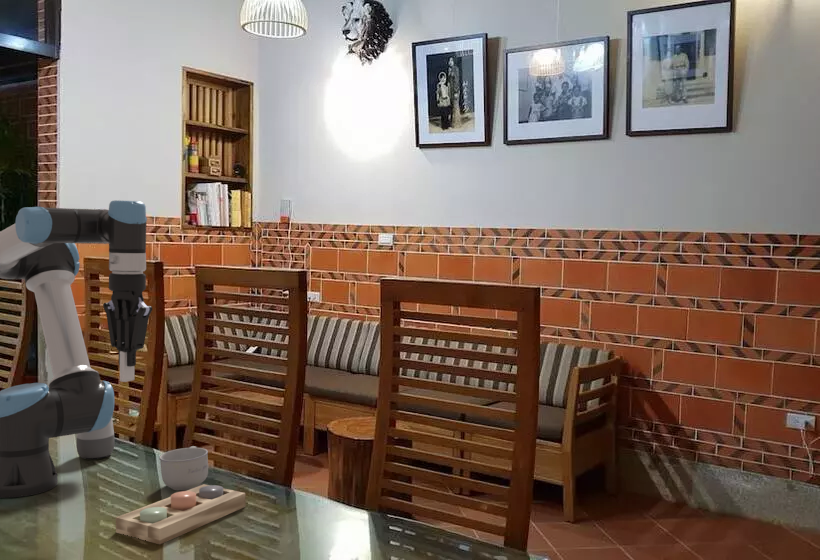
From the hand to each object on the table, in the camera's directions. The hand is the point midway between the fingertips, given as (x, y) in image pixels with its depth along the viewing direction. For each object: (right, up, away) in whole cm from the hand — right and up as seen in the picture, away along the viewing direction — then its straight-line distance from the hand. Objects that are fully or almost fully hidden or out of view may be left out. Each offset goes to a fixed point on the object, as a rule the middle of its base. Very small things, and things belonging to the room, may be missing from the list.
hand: (127, 380), depth 167 cm
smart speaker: (-22, -25, +36) cm, 49 cm away
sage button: (+11, -27, -16) cm, 33 cm away
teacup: (+9, -26, +13) cm, 31 cm away
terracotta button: (+15, -25, -9) cm, 31 cm away
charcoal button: (+19, -26, -2) cm, 32 cm away
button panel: (+15, -27, -9) cm, 32 cm away
